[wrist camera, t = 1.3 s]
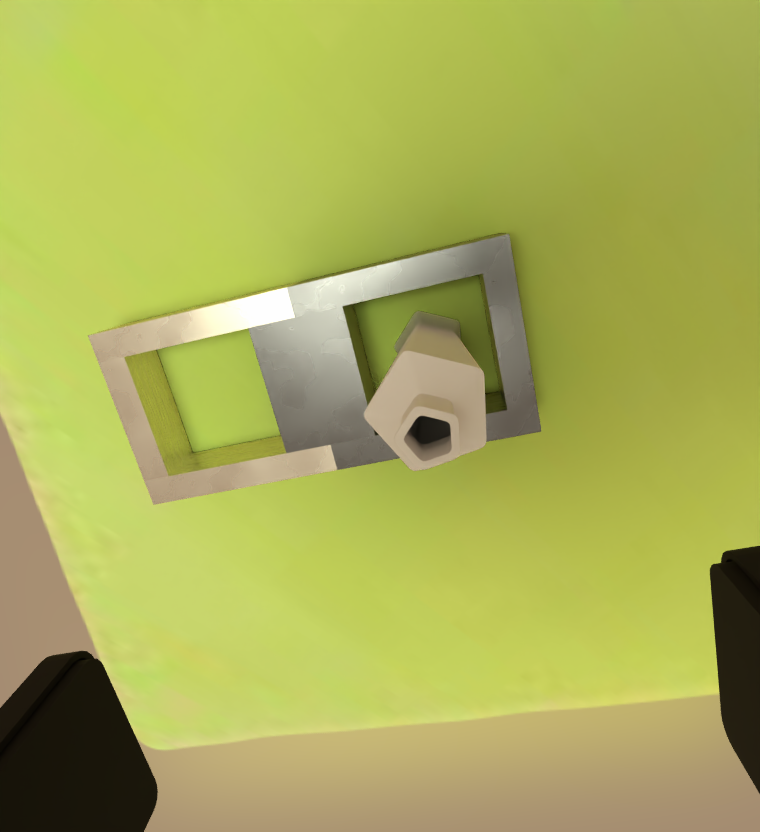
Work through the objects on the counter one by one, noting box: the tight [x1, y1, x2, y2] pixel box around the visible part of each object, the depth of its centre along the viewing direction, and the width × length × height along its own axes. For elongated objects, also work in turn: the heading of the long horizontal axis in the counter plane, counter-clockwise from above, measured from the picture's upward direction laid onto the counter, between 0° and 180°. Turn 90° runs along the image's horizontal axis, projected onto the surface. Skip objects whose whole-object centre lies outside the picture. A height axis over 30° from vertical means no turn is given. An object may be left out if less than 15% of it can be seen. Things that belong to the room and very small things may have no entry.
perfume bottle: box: [364, 311, 486, 471], centre depth 25 cm, size 5×4×15 cm
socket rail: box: [88, 233, 541, 504], centre depth 32 cm, size 22×10×4 cm, turn 103°
